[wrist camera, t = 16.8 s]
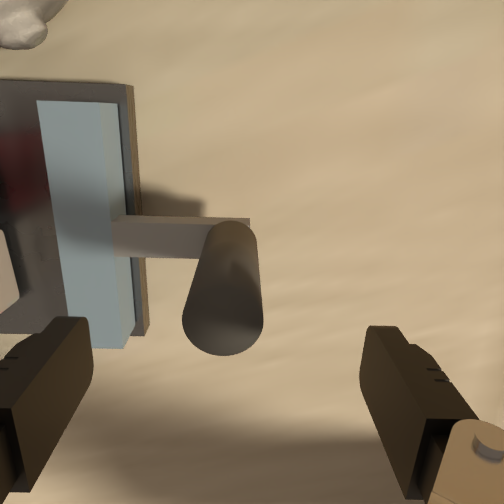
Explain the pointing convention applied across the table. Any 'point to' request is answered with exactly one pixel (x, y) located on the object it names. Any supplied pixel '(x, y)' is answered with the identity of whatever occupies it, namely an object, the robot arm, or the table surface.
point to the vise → (39, 200)
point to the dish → (26, 22)
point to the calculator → (6, 278)
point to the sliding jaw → (139, 240)
